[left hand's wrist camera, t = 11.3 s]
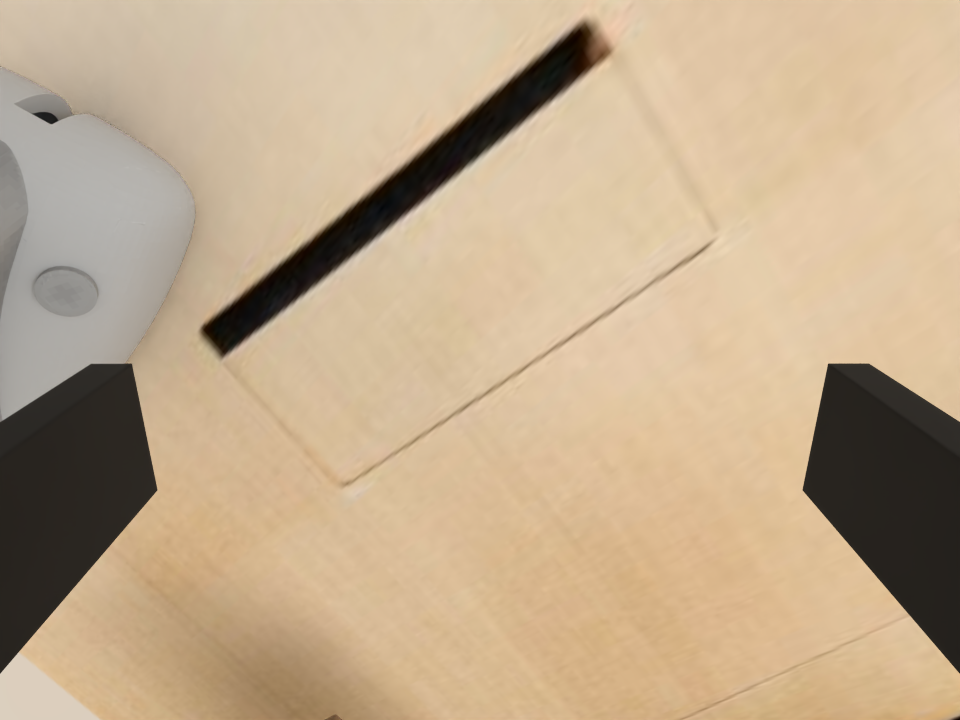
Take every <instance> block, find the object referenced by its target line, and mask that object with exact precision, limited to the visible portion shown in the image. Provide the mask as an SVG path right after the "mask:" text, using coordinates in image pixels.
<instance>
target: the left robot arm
mask: <svg viewBox="0 0 960 720" xmlns="http://www.w3.org/2000/svg"><path fill="white" fill-rule="evenodd" d="M156 491H157V486H156V481H155V476H154V471H153V466H152V461H151V456H150V451H149V446H148V441H147V436H146V431H145V427H144V422H143V417H142V412H141V407H140V402H139V397H138V392H137V387H136V382H135V377H134V372H133V367H132V364H90V365H88V366H87V367H85V368H84V369H82V370H81V371H79V372H77V373H76V374H74V375H73V376H71V377H70V378H68V379H67V380H65V381H63V382H62V383H60V384H59V385H57V386H56V387H54V388H52V389H51V390H49V391H48V392H46V393H45V394H43V395H42V396H40V397H38V398H37V399H35V400H34V401H32V402H31V403H29V404H28V405H26V406H24V407H23V408H21V409H20V410H18V411H17V412H15V413H14V414H12V415H10V416H9V417H7V418H6V419H4V420H3V421H1V422H0V673H1V672H2V671H3V670H4V668H5V667H6V666H7V665H8V664H9V663H10V662H11V660H12V659H13V658H14V657H15V656H16V655H17V653H18V652H19V651H20V650H21V649H22V648H23V646H24V645H25V644H26V643H27V642H28V641H29V639H30V638H31V637H32V636H33V635H34V634H35V632H36V631H37V630H38V629H39V628H40V627H41V625H42V624H43V623H44V622H45V621H46V620H47V618H48V617H49V616H50V615H51V614H52V613H53V611H54V610H55V609H56V608H57V607H58V606H59V604H60V603H61V602H62V601H63V600H64V599H65V597H66V596H67V595H68V594H69V593H70V592H71V590H72V589H73V588H74V587H75V586H76V585H77V583H78V582H79V581H80V580H81V579H82V578H83V576H84V575H85V574H86V573H87V572H88V571H89V569H90V568H91V567H92V566H93V565H94V564H95V562H96V561H97V560H98V559H99V558H100V557H101V555H102V554H103V553H104V552H105V551H106V550H107V548H108V547H109V546H110V545H111V544H112V543H113V541H114V540H115V539H116V538H117V537H118V536H119V534H120V533H121V532H122V531H123V530H124V529H125V527H126V526H127V525H128V524H129V523H130V522H131V520H132V519H133V518H134V517H135V516H136V515H137V513H138V512H139V511H140V510H141V509H142V508H143V506H144V505H145V504H146V503H147V502H148V501H149V499H150V498H151V497H152V496H153V495H154V494H155V492H156ZM803 491H804V492H805V494H806V495H807V496H808V497H809V498H810V499H811V501H812V502H813V503H814V504H815V505H816V506H817V508H818V509H819V510H820V511H821V512H822V513H823V515H824V516H825V517H826V518H827V519H828V520H829V522H830V523H831V524H832V525H833V526H834V527H835V529H836V530H837V531H838V532H839V533H840V534H841V536H842V537H843V538H844V539H845V540H846V541H847V543H848V544H849V545H850V546H851V547H852V548H853V550H854V551H855V552H856V553H857V554H858V555H859V557H860V558H861V559H862V560H863V561H864V562H865V564H866V565H867V566H868V567H869V568H870V569H871V571H872V572H873V573H874V574H875V575H876V576H877V578H878V579H879V580H880V581H881V582H882V583H883V585H884V586H885V587H886V588H887V589H888V590H889V592H890V593H891V594H892V595H893V596H894V597H895V599H896V600H897V601H898V602H899V603H900V604H901V606H902V607H903V608H904V609H905V610H906V611H907V613H908V614H909V615H910V616H911V617H912V618H913V620H914V621H915V622H916V623H917V624H918V625H919V627H920V628H921V629H922V630H923V631H924V632H925V634H926V635H927V636H928V637H929V638H930V639H931V641H932V642H933V643H934V644H935V645H936V646H937V648H938V649H939V650H940V651H941V652H942V653H943V655H944V656H945V657H946V658H947V659H948V660H949V662H950V663H951V664H952V665H953V666H954V667H955V669H956V670H957V671H958V672H959V673H960V422H959V421H957V420H956V419H954V418H953V417H951V416H950V415H948V414H946V413H945V412H943V411H942V410H940V409H939V408H937V407H936V406H934V405H932V404H931V403H929V402H928V401H926V400H925V399H923V398H922V397H920V396H918V395H917V394H915V393H914V392H912V391H911V390H909V389H908V388H906V387H904V386H903V385H901V384H900V383H898V382H897V381H895V380H893V379H892V378H890V377H889V376H887V375H886V374H884V373H883V372H881V371H879V370H878V369H876V368H875V367H873V366H872V365H870V364H828V367H827V372H826V377H825V382H824V387H823V392H822V397H821V402H820V407H819V412H818V417H817V422H816V427H815V431H814V436H813V441H812V446H811V451H810V456H809V461H808V466H807V471H806V476H805V481H804V486H803Z"/></svg>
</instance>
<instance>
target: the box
mask: <svg viewBox="0 0 960 720" xmlns="http://www.w3.org/2000/svg"><path fill="white" fill-rule="evenodd" d="M325 720H341V719H340V718H339V717H338V716H337V715H336V714H335V715H333V716H331V717H329V718H327V719H325Z"/></svg>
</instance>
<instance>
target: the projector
mask: <svg viewBox="0 0 960 720" xmlns="http://www.w3.org/2000/svg"><path fill="white" fill-rule="evenodd" d="M194 222H195V202H194V198H193V195H192V193H191V190H190V188H189V187H188V185H187V184H186V182H185V180H184V179H183V178H182V176H181V175H180V174H179V173H178V172H177V171H176V170H175V169H174V168H173V167H172V166H171V165H170V164H169V163H168V162H166V161H165V160H164V159H163V158H161V157H160V156H158V155H157V154H156V153H154V152H153V151H152V150H150V149H149V148H147V147H146V146H144V145H143V144H141V143H140V142H138V141H137V140H135V139H134V138H132V137H130V136H129V135H127V134H125V133H124V132H122V131H120V130H119V129H117V128H115V127H114V126H112V125H110V124H108V123H107V122H105V121H103V120H101V119H100V118H98V117H96V116H94V115H90V114H78V115H72V112H71V109H70V107H69V105H68V103H67V102H66V101H65V100H64V99H63V98H62V97H60V96H59V95H57V94H55V93H53V92H51V91H50V90H48V89H46V88H44V87H42V86H40V85H38V84H37V83H35V82H33V81H31V80H29V79H27V78H25V77H23V76H21V75H19V74H17V73H15V72H13V71H10V70H8V69H6V68H4V67H1V66H0V422H1V421H3V420H4V419H6V418H7V417H9V416H10V415H12V414H14V413H15V412H17V411H18V410H20V409H21V408H23V407H24V406H26V405H28V404H29V403H31V402H32V401H34V400H35V399H37V398H38V397H40V396H42V395H43V394H45V393H46V392H48V391H49V390H51V389H52V388H54V387H56V386H57V385H59V384H60V383H62V382H63V381H65V380H67V379H68V378H70V377H71V376H73V375H74V374H76V373H77V372H79V371H81V370H82V369H84V368H85V367H87V366H88V365H90V364H125V363H126V361H127V360H128V359H129V357H130V356H131V354H132V353H133V351H134V350H135V349H136V347H137V346H138V344H139V343H140V341H141V340H142V338H143V336H144V335H145V333H146V332H147V330H148V328H149V327H150V325H151V323H152V322H153V320H154V318H155V316H156V315H157V313H158V311H159V309H160V307H161V306H162V304H163V302H164V300H165V298H166V296H167V294H168V292H169V290H170V288H171V286H172V284H173V282H174V279H175V277H176V275H177V272H178V270H179V268H180V266H181V263H182V261H183V258H184V256H185V253H186V250H187V248H188V245H189V242H190V238H191V235H192V231H193V227H194Z"/></svg>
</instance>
